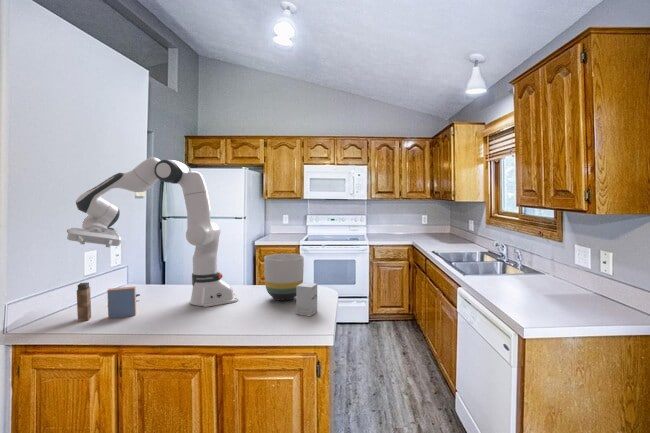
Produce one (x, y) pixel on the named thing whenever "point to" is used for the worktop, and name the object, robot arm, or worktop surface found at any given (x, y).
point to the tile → (121, 302)
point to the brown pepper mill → (83, 302)
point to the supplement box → (306, 298)
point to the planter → (283, 275)
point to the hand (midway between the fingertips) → (95, 244)
